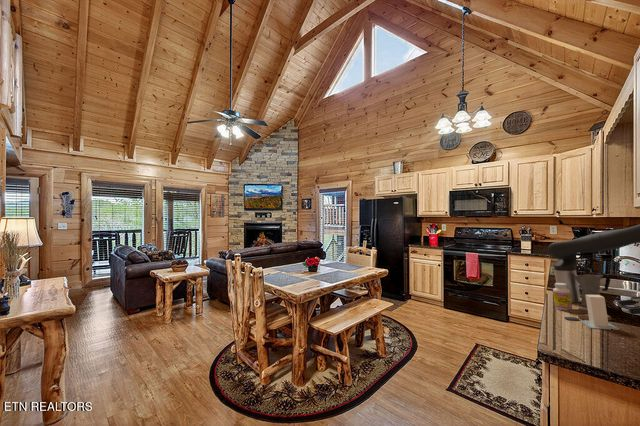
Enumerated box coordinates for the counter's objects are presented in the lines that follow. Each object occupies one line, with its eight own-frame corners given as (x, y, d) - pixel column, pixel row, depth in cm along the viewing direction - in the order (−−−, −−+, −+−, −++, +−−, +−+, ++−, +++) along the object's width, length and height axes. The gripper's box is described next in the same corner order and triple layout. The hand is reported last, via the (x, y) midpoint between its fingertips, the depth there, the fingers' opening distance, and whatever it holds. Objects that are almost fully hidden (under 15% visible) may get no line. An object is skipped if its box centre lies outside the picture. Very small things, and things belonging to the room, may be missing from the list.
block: (589, 322, 119) (585, 294, 120) (603, 323, 117) (598, 294, 118) (594, 325, 115) (590, 297, 116) (608, 326, 113) (604, 297, 114)
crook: (580, 311, 135) (579, 308, 135) (574, 308, 140) (574, 305, 140) (601, 312, 132) (600, 309, 132) (595, 309, 137) (594, 306, 137)
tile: (580, 321, 122) (580, 320, 122) (607, 322, 118) (607, 321, 118) (590, 328, 114) (589, 327, 114) (619, 329, 110) (619, 328, 110)
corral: (569, 312, 135) (569, 308, 135) (598, 313, 131) (598, 309, 131) (579, 318, 125) (578, 315, 125) (611, 320, 121) (611, 316, 121)
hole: (562, 317, 129) (562, 316, 129) (576, 317, 127) (576, 317, 127) (567, 320, 124) (567, 319, 124) (581, 321, 122) (581, 320, 122)
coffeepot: (581, 307, 141) (576, 272, 143) (572, 302, 150) (567, 269, 151) (620, 307, 136) (614, 271, 137) (608, 303, 145) (603, 268, 146)
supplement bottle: (557, 310, 139) (553, 284, 140) (553, 306, 145) (550, 282, 146) (574, 311, 136) (570, 285, 137) (570, 307, 142) (566, 282, 143)
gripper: (667, 288, 112) (614, 292, 120) (691, 300, 100) (630, 304, 108) (673, 305, 112) (619, 309, 120) (698, 320, 100) (636, 323, 108)
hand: (624, 307), depth 114 cm, fingers open, 8 cm apart
